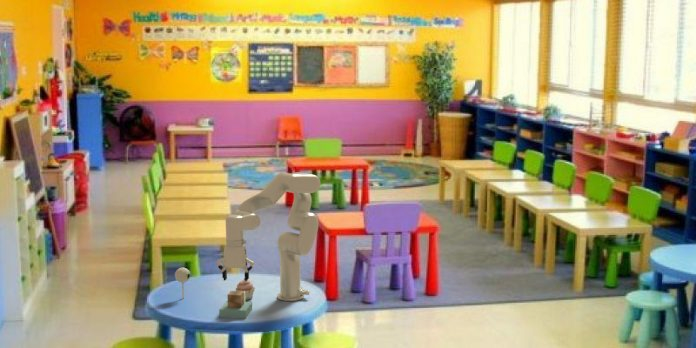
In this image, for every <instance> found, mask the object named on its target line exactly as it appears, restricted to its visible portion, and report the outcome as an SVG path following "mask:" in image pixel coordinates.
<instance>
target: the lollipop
mask: <svg viewBox="0 0 696 348" xmlns="http://www.w3.org/2000/svg"><path fill="white" fill-rule="evenodd" d="M174 278H175V280H176V281H177V282H178V283H181V284H182V286H181V287H182V289H181V291H182V299H183V300H184V299H185V289H184V288H185V285H184V284H185V283H187V282H188V281H189V280H190V278H191V271H190V270H189V269H188V268H186V267H179V268H177V270H176V271H175V272H174Z"/></svg>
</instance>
